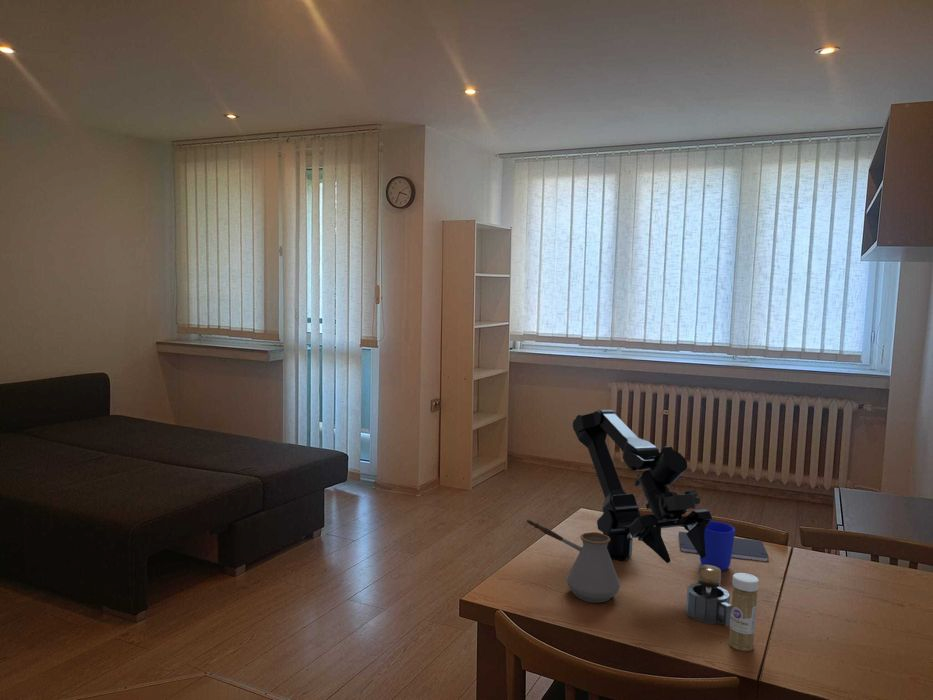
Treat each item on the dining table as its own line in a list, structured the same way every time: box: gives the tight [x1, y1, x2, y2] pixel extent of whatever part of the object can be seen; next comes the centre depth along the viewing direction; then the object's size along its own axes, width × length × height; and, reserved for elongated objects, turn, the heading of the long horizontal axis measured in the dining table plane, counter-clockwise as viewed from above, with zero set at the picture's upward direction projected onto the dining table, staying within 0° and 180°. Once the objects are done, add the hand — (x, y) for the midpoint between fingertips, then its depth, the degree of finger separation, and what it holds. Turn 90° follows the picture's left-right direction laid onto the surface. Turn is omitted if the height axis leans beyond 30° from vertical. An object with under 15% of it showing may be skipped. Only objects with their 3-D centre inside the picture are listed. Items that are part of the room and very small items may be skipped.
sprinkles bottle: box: [728, 572, 760, 652], centre depth 130 cm, size 5×5×14 cm
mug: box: [699, 520, 736, 571], centre depth 170 cm, size 8×12×10 cm
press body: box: [685, 582, 732, 627], centre depth 142 cm, size 10×8×5 cm
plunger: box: [697, 564, 722, 597], centre depth 142 cm, size 4×4×8 cm
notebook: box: [678, 531, 770, 562], centre depth 182 cm, size 13×2×21 cm
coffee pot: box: [524, 519, 621, 603], centre depth 151 cm, size 21×12×15 cm, turn 75°
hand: (686, 560), depth 149 cm, fingers open, 9 cm apart
